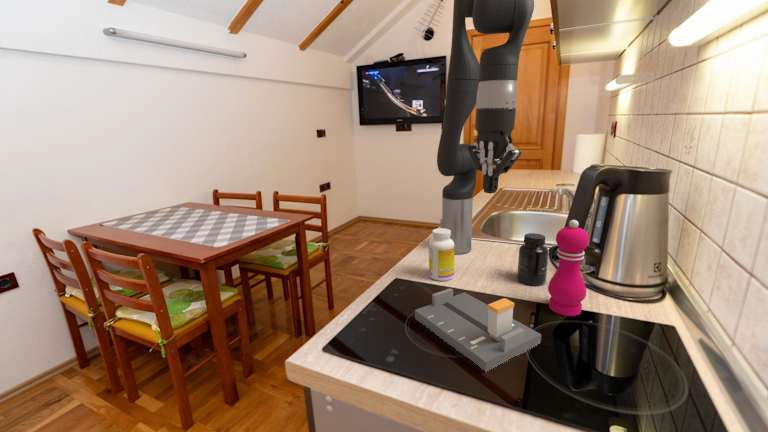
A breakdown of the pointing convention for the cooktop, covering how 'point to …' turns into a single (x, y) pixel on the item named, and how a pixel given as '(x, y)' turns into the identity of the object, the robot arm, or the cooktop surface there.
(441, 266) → the supplement bottle
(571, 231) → the pepper mill
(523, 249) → the supplement bottle
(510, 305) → the fader knob
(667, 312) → the cooktop surface
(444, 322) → the fader console
